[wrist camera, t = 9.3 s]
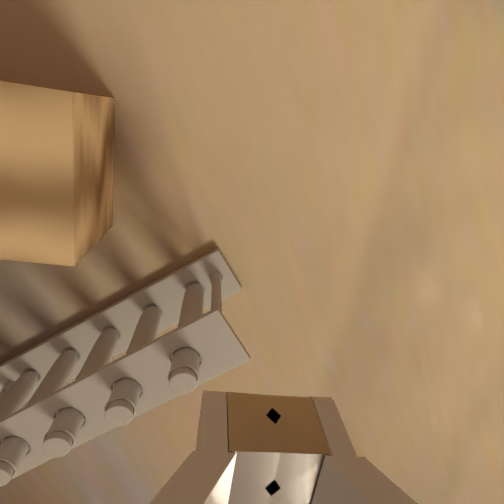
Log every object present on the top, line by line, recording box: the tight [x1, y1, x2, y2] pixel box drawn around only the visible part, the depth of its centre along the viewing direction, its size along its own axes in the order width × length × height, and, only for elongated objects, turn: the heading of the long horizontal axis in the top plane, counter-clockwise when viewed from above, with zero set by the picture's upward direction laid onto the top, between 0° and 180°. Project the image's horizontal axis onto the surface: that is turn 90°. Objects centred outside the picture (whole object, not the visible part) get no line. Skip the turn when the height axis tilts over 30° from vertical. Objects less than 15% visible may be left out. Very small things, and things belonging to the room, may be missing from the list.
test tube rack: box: [0, 248, 251, 486], centre depth 28 cm, size 25×4×13 cm, turn 118°
